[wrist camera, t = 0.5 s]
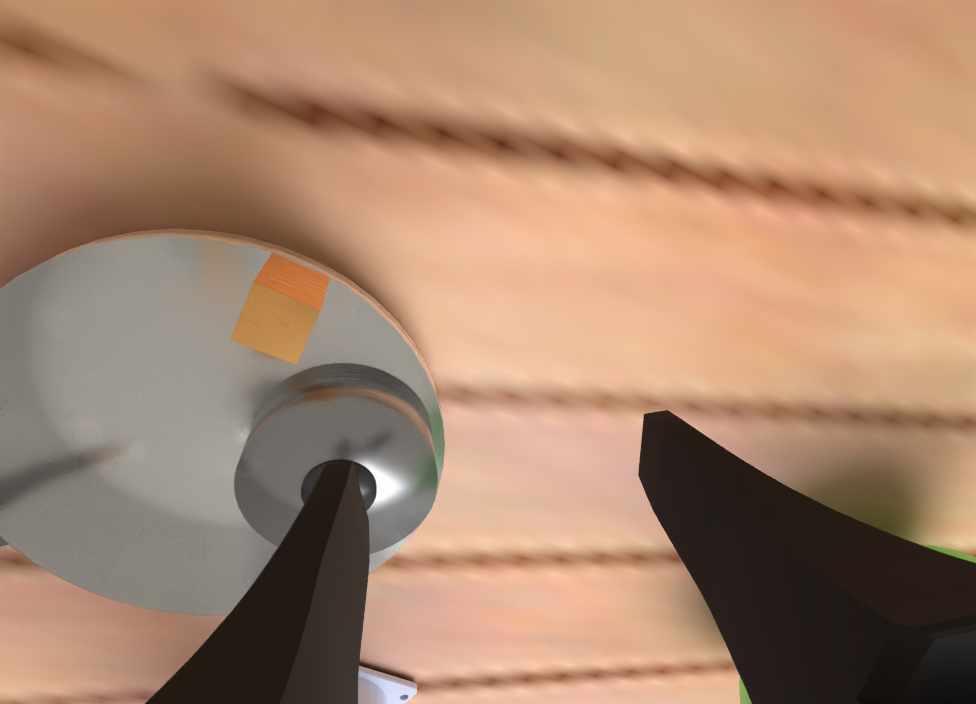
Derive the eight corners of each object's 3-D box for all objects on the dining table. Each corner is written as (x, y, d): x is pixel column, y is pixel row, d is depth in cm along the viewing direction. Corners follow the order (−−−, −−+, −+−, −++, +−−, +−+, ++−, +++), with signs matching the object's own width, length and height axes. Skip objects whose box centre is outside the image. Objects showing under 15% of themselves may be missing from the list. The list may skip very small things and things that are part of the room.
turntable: (304, 636, 28) (292, 718, 24) (-113, 504, 21) (-218, 593, 17) (524, 391, 23) (550, 448, 20) (86, 107, 16) (-1, 116, 12)
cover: (369, 526, 24) (367, 586, 21) (219, 461, 21) (193, 520, 18) (465, 417, 22) (476, 466, 19) (315, 329, 19) (302, 372, 16)
